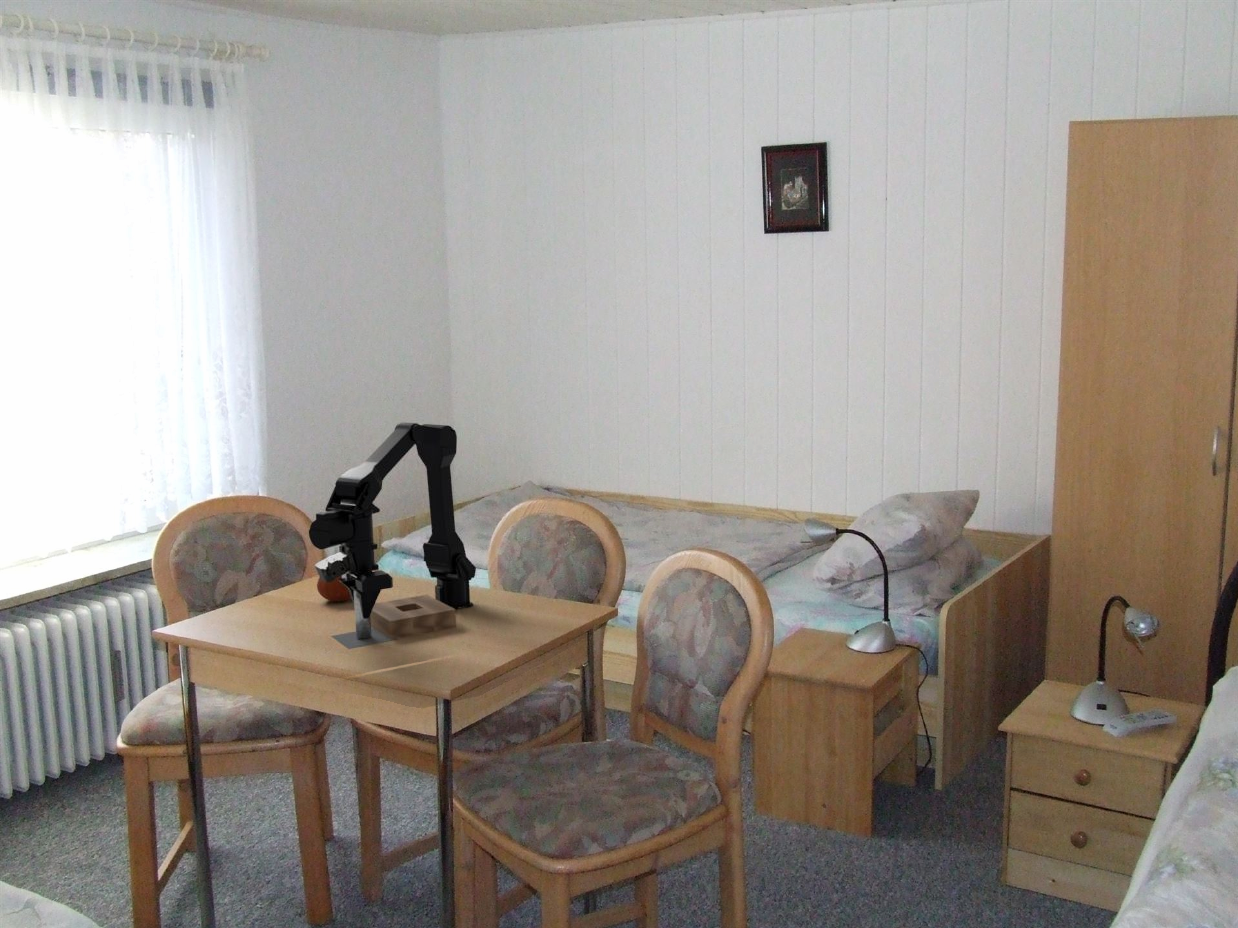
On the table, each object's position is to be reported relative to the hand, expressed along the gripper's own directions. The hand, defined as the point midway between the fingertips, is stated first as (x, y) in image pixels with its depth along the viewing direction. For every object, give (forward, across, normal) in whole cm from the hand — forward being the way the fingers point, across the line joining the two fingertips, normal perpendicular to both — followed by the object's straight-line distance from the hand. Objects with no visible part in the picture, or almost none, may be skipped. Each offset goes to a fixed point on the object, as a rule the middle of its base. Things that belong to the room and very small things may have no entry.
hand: (362, 616), depth 245 cm
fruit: (+5, -31, +6) cm, 32 cm away
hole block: (+5, -3, +11) cm, 12 cm away
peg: (+4, 0, 0) cm, 4 cm away
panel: (+5, 0, 0) cm, 5 cm away
